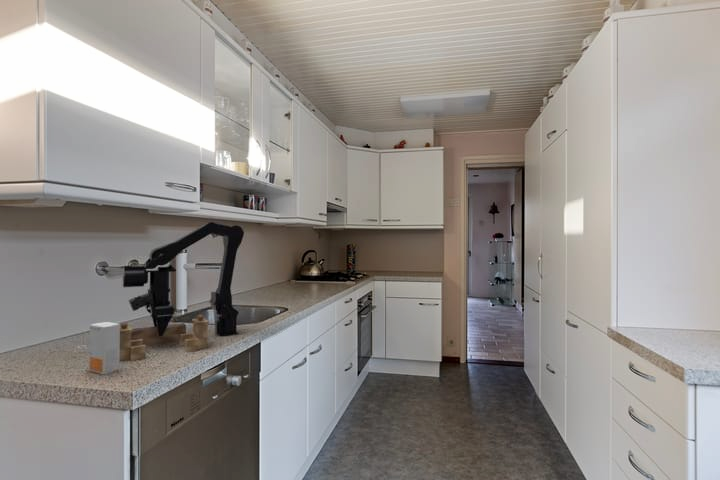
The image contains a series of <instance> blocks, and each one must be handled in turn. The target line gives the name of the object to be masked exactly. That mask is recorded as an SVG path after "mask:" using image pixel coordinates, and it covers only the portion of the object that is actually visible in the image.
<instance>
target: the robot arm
mask: <svg viewBox="0 0 720 480" xmlns="http://www.w3.org/2000/svg"><path fill="white" fill-rule="evenodd" d="M209 235H215V236H220V237H222V243H223V255H222V262H221V267H220V271H219V272H220V273H219V280H218V285H217V288H216V290H215V291H210V293H211V294H210V300H209V302H208V303H209V304H210V307H211V309H212V310H213V311H215V313H216V315H217V316H216V320H215V321H214V333H215V334H216V335H218V336H220V337H222V336H230V335H231V336H232V335H237V334H238V333H239V331H237V321H238V319H237V317H238V315H239V311H238V310H237V309H236V308H235V307H234V306H233V295H232V290H231V288H232V282H233V276H234V269H235V264H236V258H237V252H238V249H239V247H240V246H241V244H242V241H243V238H244V235H245V231H244V229H243V228H242V227H241V225H236V224H234V225H225V224H220V223H216V222H214V221H208V222H205V223H203V225H200V226H199V227H197V228H196V229H194V230H192V231H191V232H189V233H187V234H185V235H184V236H181V237H180V238H178V239H176V240H174V241H172V242H169V243H166V244H163V245H161V246H158V247H156V248H153V249H151V251H150V252H149V256H148V257H149V258H148V259H147V260H146V262H144V264H143V265H136V266H135V265H124V266H123V275H122V287H123V288H139V287H142V288H143V287H145V285H146V284H148V283H149V288H148V289H147V293H144V294H141V295H138V296H135V297H133V298H130V299H128V303H129V305H130V307H131V309H132V311H133V312H135V311H137V310H139V309H141V308H145V309H146V311H147V312H148V313H149V314H150V317H151V318H152V322H153V327H155V326H157V329H158V334H159V336H163V334H164V332H165V330H166V328H167V326H168V325H170V324H169V323H170V322H171V319H172V318H173V316H174V315H175V307H173V306H172V305H171V301H170V292H171V288H170V273H174V272H177V269H176V268H174V267H173V265H172V264H169V263H170V262H171V261H172V260H174V258H176V257H177V256H178V255H179V254H180V253H181V252H183V250H185V249H187V248H189V247H191V246H192V245H194V244H196V243H197V242H199V241H200V240H202V239H204V238H206V237H207V236H209ZM167 264H168V265H167ZM165 265H167V266H165ZM155 268H157V269H155Z"/></svg>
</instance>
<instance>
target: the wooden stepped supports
mask: <svg viewBox="0 0 720 480" xmlns="http://www.w3.org/2000/svg"><path fill="white" fill-rule="evenodd" d="M191 322H192V326H193V327H192V328H193V329H192V332H189V333H188V332H186V334H180V341H179V346H180V347H184V352H185V353H188V352H189V353H191V352H195V351H199V350H201V349H206V348H208V328H209V327H208V325H209V324H210V321H209V320H207V319H206V318H205V317H204V315H203V314H198V315H197V317H196V318H192V319H191ZM132 329H133V328H132V326H131V325H129V324H128V322H127V321H123V322H121V323H120V355H119V362H120V361H126V360H130V361H135V360H143V359H146V346H145V345H143V340H142V339H139V340H131V333H132Z"/></svg>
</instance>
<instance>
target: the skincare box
mask: <svg viewBox="0 0 720 480" xmlns="http://www.w3.org/2000/svg"><path fill="white" fill-rule="evenodd" d="M120 325H121V323H115V322H109V321H103V322H98V323H92V324H90V325H89V343H88V344H89V346H88V350H89V352H88V354H89V356H88V371H89V372H93V373H97V374H101V375H107V374H110V373H113V372H117V371H120V361H119V355H120Z"/></svg>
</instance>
